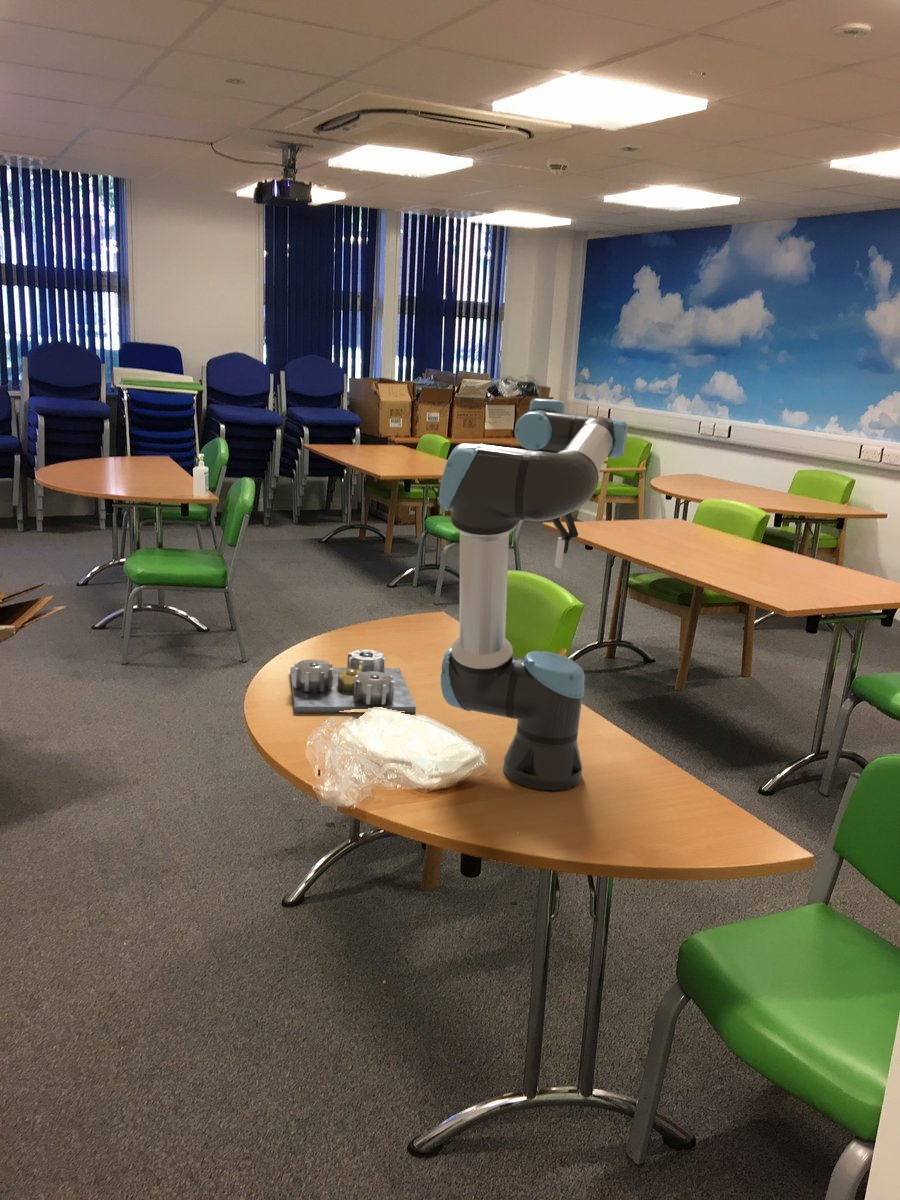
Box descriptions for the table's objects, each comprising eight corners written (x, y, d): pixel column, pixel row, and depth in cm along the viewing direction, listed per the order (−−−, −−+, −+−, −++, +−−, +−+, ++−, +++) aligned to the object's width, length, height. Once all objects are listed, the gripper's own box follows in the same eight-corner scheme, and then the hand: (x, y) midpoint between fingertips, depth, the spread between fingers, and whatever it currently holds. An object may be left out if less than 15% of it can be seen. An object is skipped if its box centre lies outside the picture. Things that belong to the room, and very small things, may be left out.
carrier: (415, 713, 203) (417, 684, 201) (294, 713, 197) (296, 683, 195) (398, 674, 225) (400, 647, 223) (290, 673, 220) (291, 645, 218)
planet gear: (385, 681, 215) (387, 661, 214) (349, 681, 214) (350, 660, 212) (380, 668, 223) (382, 648, 222) (345, 668, 222) (346, 648, 220)
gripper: (588, 472, 209) (576, 563, 214) (480, 465, 203) (471, 559, 209) (599, 477, 202) (587, 571, 207) (488, 470, 196) (479, 568, 202)
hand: (529, 566), depth 208 cm, fingers open, 13 cm apart
